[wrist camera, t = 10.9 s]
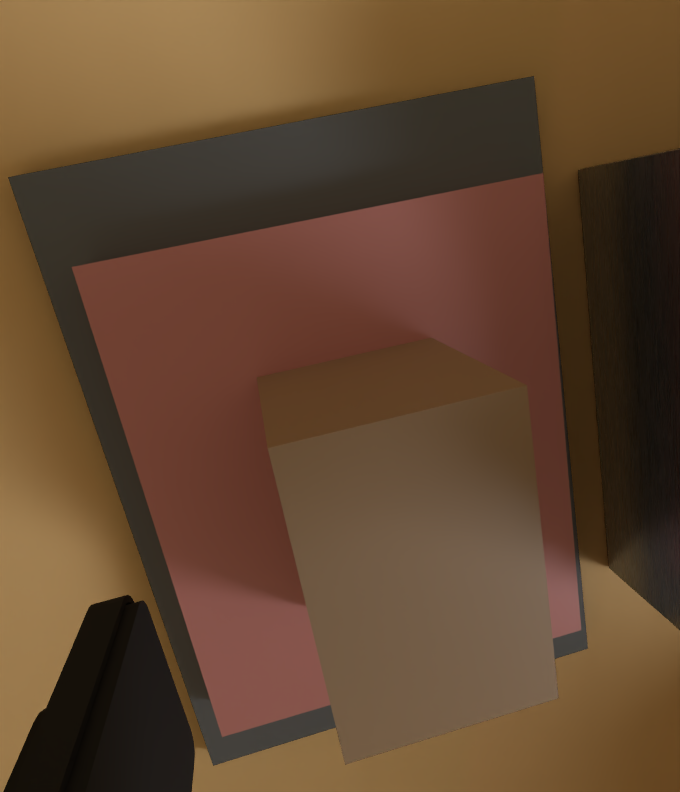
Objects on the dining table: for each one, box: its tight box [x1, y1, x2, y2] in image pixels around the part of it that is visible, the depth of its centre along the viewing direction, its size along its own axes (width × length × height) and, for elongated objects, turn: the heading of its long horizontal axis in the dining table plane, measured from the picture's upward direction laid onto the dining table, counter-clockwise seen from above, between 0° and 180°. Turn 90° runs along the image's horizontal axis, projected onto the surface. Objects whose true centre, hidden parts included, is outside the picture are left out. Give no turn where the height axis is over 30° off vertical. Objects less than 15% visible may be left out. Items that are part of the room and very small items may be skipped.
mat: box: [8, 76, 588, 766], centre depth 15 cm, size 12×16×1 cm
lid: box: [72, 173, 581, 765], centre depth 12 cm, size 10×12×6 cm
